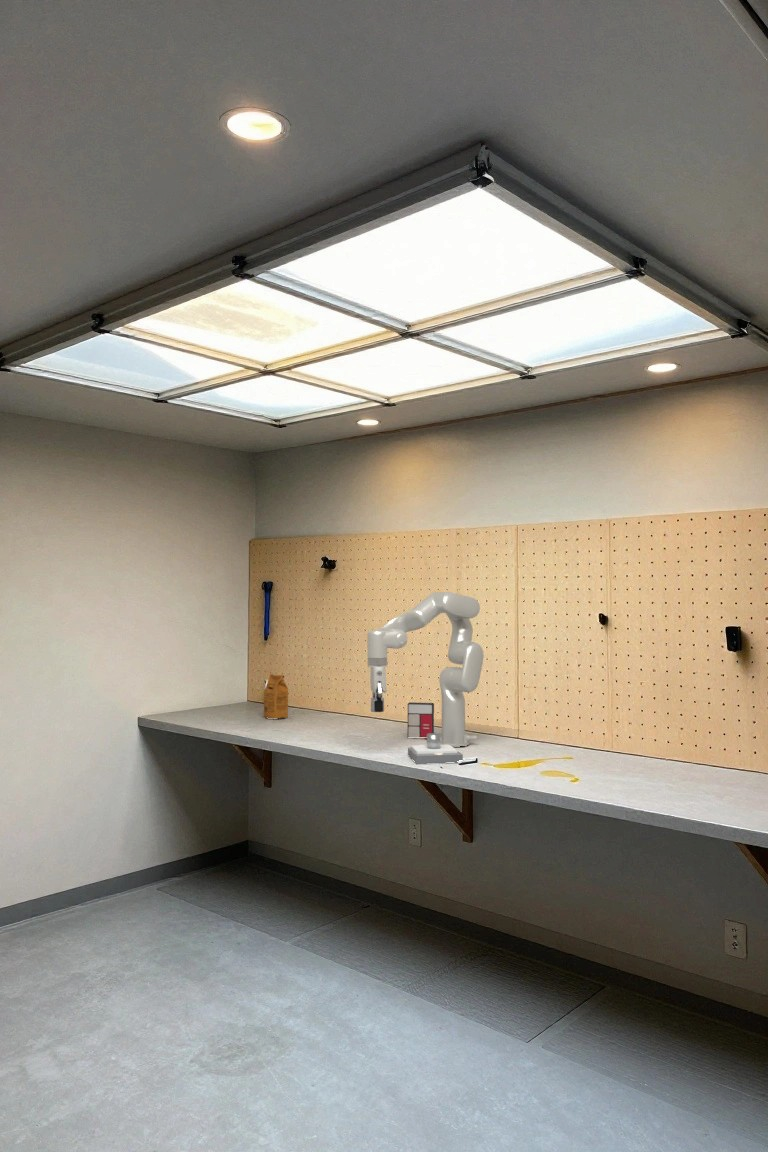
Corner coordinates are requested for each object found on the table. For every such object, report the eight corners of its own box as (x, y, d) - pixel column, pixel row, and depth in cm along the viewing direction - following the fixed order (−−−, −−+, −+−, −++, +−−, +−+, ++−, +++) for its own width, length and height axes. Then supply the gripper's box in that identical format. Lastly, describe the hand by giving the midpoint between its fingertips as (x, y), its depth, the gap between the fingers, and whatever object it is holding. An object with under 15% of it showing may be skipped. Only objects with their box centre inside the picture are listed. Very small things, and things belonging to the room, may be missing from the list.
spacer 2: (439, 746, 310) (439, 733, 310) (441, 748, 305) (441, 735, 305) (425, 746, 309) (425, 733, 309) (427, 749, 304) (427, 735, 304)
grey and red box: (407, 738, 350) (407, 703, 351) (408, 737, 355) (408, 702, 355) (432, 739, 348) (432, 704, 349) (434, 738, 353) (434, 702, 353)
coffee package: (277, 716, 421) (277, 672, 421) (290, 718, 411) (290, 674, 412) (260, 717, 414) (260, 673, 415) (273, 720, 405) (273, 675, 405)
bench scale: (451, 754, 314) (451, 744, 314) (462, 763, 297) (462, 752, 298) (408, 755, 312) (408, 745, 312) (416, 764, 295) (416, 753, 295)
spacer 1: (383, 710, 316) (383, 697, 316) (385, 712, 311) (384, 698, 311) (370, 710, 315) (370, 697, 315) (371, 712, 310) (371, 699, 310)
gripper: (390, 664, 306) (390, 713, 305) (383, 660, 323) (383, 707, 322) (370, 664, 305) (370, 713, 304) (364, 661, 321) (364, 707, 321)
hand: (377, 709), depth 313 cm, fingers closed on spacer 1, 5 cm apart
